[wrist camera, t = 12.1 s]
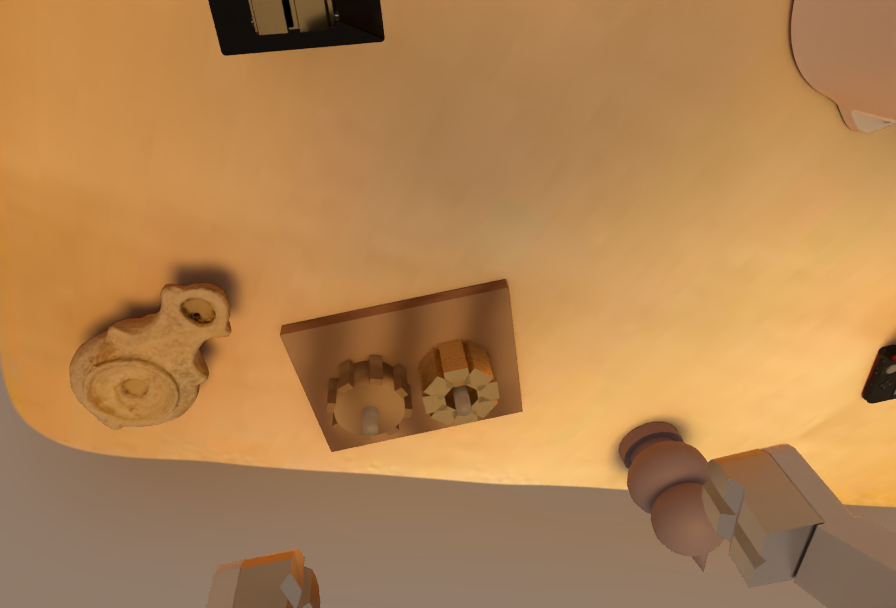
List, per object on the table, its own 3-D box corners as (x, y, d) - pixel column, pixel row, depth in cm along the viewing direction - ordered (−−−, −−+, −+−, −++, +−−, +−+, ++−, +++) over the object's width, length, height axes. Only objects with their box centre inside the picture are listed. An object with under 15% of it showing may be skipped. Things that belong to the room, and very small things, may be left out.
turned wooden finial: (621, 416, 54) (679, 523, 44) (694, 411, 55) (766, 515, 45) (603, 471, 58) (652, 579, 49) (671, 466, 59) (731, 571, 50)
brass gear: (485, 333, 44) (494, 362, 41) (493, 385, 47) (502, 415, 44) (413, 348, 44) (417, 378, 41) (426, 400, 47) (431, 430, 44)
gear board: (505, 279, 43) (524, 325, 37) (519, 402, 51) (537, 454, 46) (281, 325, 42) (270, 379, 37) (332, 441, 50) (328, 498, 45)
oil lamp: (243, 266, 39) (230, 305, 35) (229, 406, 46) (217, 452, 42) (78, 238, 36) (42, 276, 32) (91, 391, 44) (63, 439, 40)
